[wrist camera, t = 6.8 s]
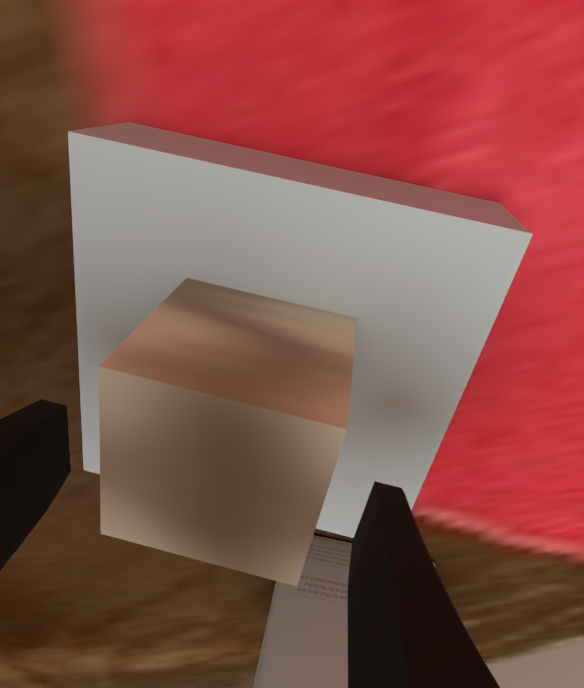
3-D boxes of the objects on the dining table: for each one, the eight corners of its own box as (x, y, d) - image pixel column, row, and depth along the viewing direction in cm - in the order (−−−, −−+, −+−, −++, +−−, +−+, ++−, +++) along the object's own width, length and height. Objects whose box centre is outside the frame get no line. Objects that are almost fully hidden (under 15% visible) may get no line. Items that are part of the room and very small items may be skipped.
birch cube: (175, 413, 16) (100, 533, 12) (186, 277, 14) (98, 366, 9) (319, 450, 16) (296, 586, 12) (357, 318, 14) (346, 429, 9)
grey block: (130, 408, 22) (83, 470, 18) (135, 120, 16) (67, 131, 12) (391, 472, 21) (394, 548, 18) (496, 199, 15) (532, 233, 12)
